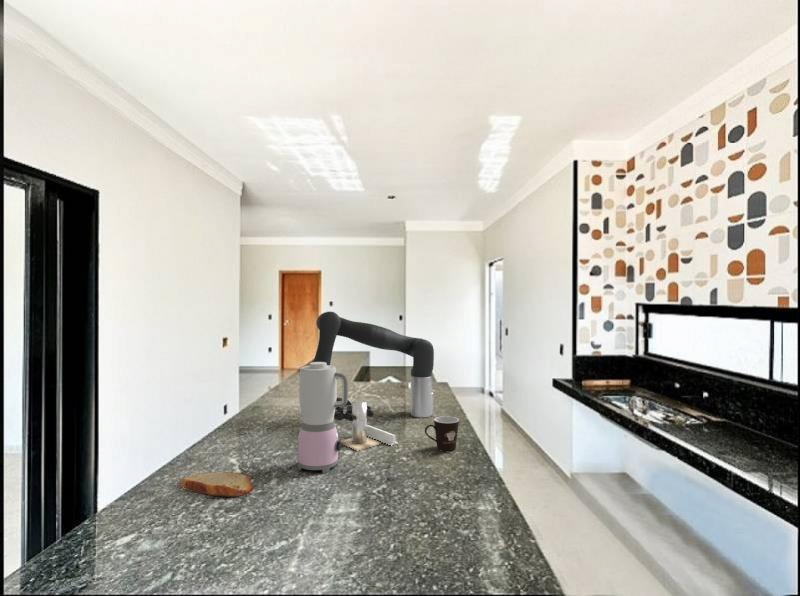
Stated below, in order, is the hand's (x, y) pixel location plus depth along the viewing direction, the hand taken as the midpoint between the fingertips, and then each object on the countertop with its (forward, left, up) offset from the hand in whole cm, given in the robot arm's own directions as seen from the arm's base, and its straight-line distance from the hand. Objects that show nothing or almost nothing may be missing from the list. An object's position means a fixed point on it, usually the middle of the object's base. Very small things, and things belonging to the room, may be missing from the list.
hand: (362, 416), depth 162 cm
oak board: (0, -2, -10) cm, 10 cm away
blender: (+21, +8, -10) cm, 25 cm away
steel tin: (0, -2, -10) cm, 10 cm away
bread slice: (+51, +2, -11) cm, 52 cm away
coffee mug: (-19, +20, -10) cm, 30 cm away
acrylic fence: (-8, -2, -10) cm, 13 cm away
